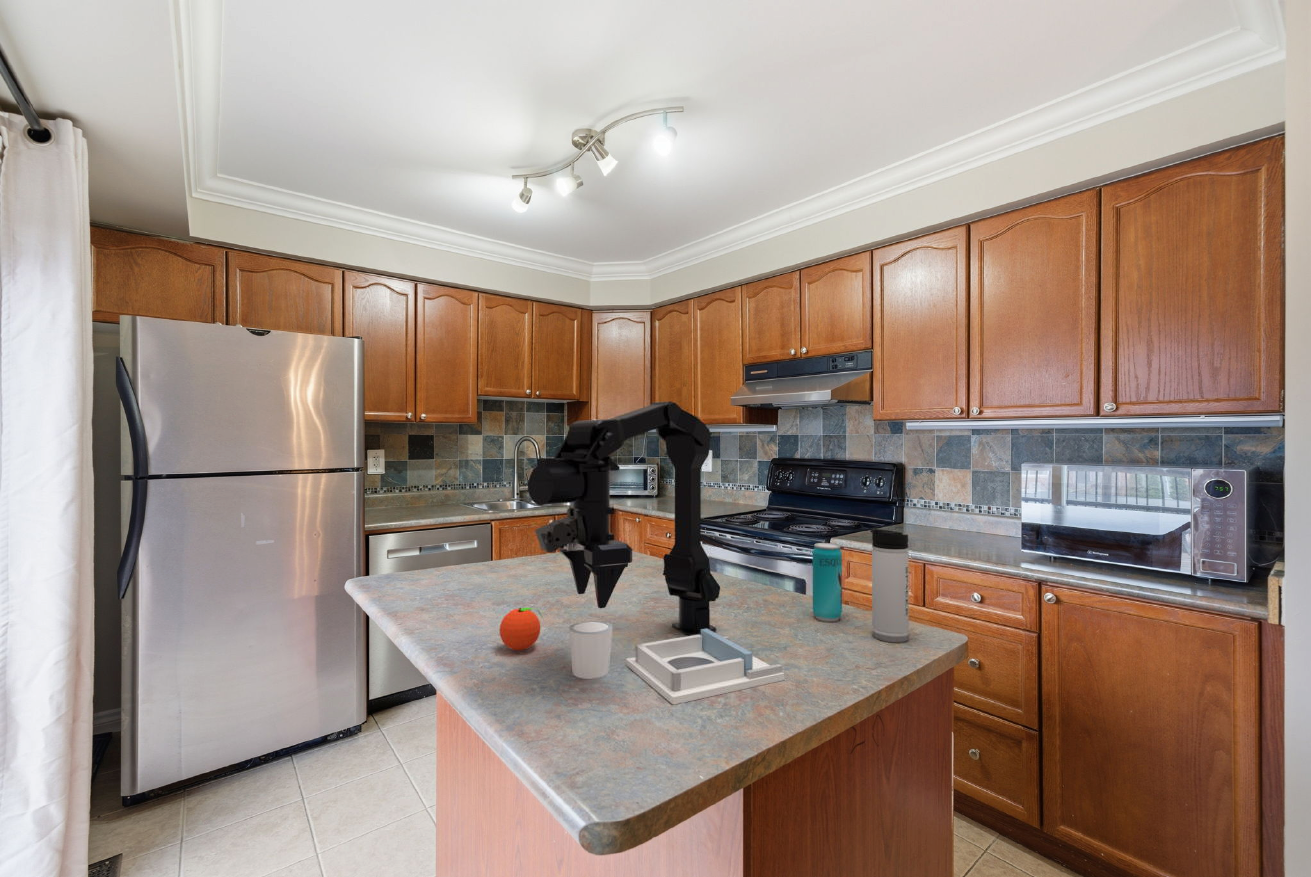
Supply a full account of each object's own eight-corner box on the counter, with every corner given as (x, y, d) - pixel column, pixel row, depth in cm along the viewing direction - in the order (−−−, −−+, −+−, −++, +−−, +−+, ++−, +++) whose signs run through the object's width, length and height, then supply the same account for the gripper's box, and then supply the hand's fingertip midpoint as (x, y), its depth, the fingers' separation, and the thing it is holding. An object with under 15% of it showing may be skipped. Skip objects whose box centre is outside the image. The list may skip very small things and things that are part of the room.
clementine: (531, 638, 106) (531, 599, 106) (553, 647, 101) (553, 606, 101) (491, 648, 101) (492, 607, 101) (512, 659, 96) (513, 616, 96)
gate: (700, 648, 98) (700, 629, 98) (706, 647, 98) (706, 628, 98) (745, 675, 86) (745, 654, 86) (752, 674, 87) (752, 652, 87)
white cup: (619, 666, 93) (619, 622, 93) (601, 682, 86) (601, 635, 86) (580, 661, 95) (580, 618, 95) (560, 676, 88) (560, 630, 89)
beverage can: (843, 623, 115) (843, 547, 116) (813, 621, 116) (813, 546, 117) (840, 615, 121) (840, 543, 121) (811, 613, 122) (811, 542, 122)
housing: (625, 664, 93) (626, 643, 93) (725, 646, 102) (725, 626, 102) (673, 704, 79) (673, 678, 79) (784, 679, 87) (784, 656, 87)
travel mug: (864, 632, 110) (864, 526, 110) (898, 631, 110) (897, 526, 111) (880, 643, 104) (879, 531, 104) (915, 642, 104) (915, 530, 105)
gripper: (525, 497, 96) (524, 592, 96) (559, 508, 79) (558, 623, 79) (589, 495, 101) (589, 585, 100) (633, 505, 84) (633, 613, 84)
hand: (591, 600), depth 91 cm, fingers open, 9 cm apart
